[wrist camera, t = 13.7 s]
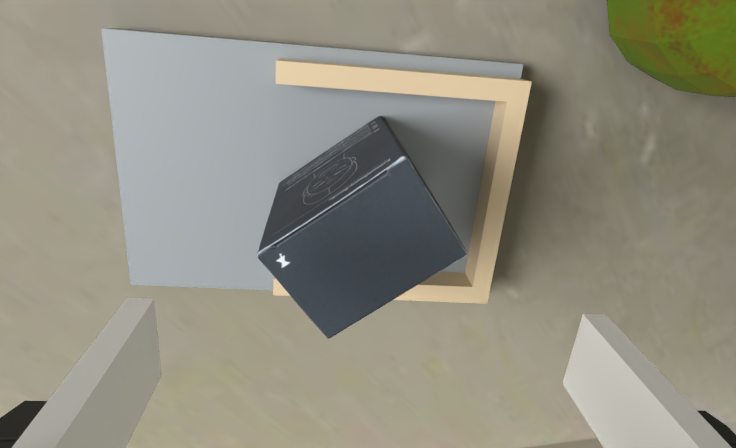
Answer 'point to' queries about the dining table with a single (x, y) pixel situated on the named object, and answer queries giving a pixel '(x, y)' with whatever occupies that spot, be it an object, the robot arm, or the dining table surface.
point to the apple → (679, 41)
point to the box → (356, 230)
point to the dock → (296, 147)
